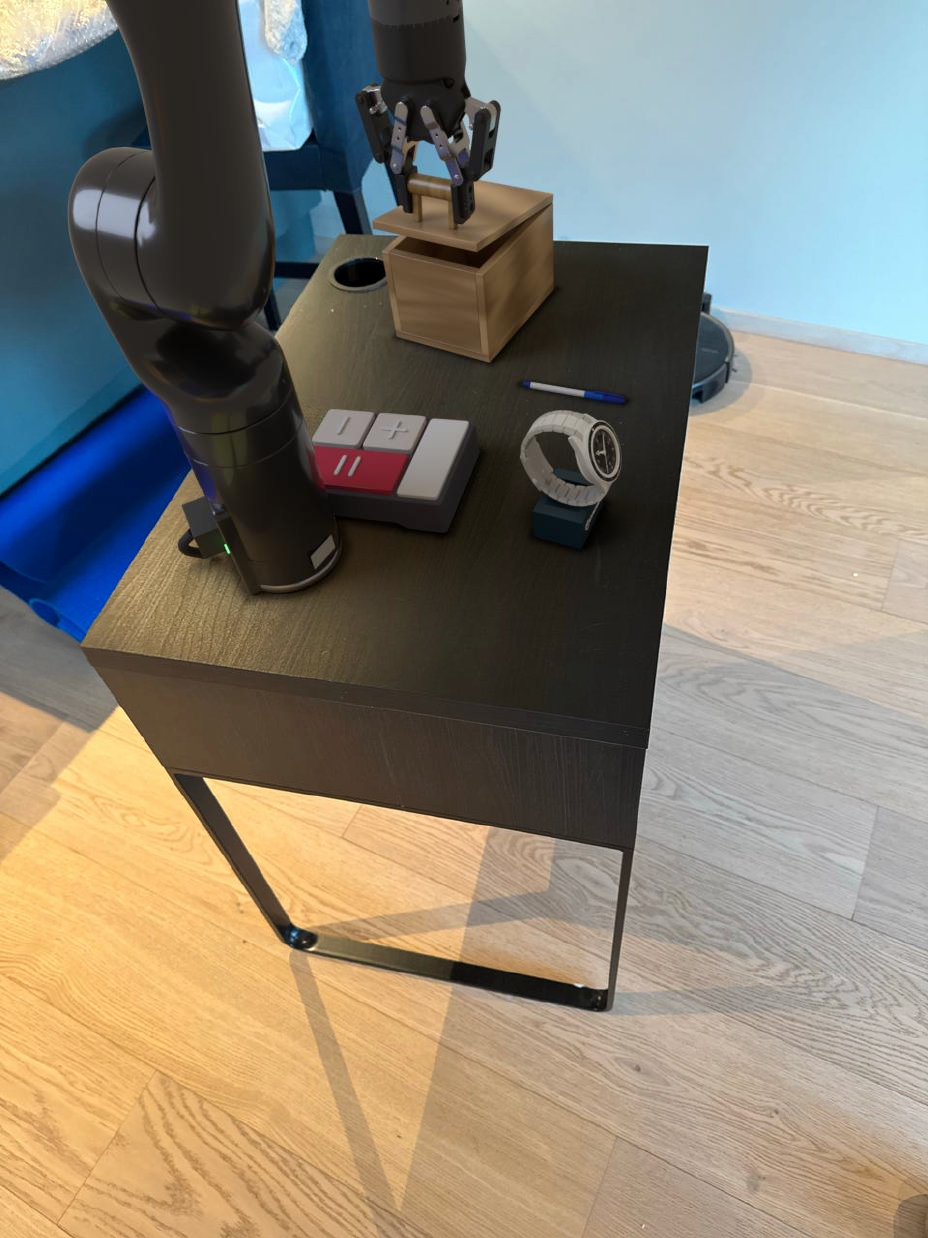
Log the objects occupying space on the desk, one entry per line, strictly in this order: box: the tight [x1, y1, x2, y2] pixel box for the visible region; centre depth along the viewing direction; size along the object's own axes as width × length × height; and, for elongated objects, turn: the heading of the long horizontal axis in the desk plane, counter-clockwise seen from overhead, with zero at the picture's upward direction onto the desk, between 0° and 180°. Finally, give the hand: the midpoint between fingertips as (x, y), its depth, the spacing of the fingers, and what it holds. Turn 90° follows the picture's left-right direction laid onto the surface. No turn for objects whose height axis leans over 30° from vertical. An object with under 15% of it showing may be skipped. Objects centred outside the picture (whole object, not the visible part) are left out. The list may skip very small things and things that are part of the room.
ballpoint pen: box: [522, 381, 626, 405], centre depth 83 cm, size 10×1×1 cm, turn 70°
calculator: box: [310, 408, 481, 534], centre depth 77 cm, size 11×4×15 cm
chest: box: [381, 201, 555, 364], centre depth 90 cm, size 15×12×10 cm
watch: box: [519, 409, 623, 550], centre depth 69 cm, size 6×8×11 cm
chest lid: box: [371, 172, 554, 252], centre depth 83 cm, size 16×12×5 cm
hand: (437, 214), depth 80 cm, fingers closed on chest lid, 5 cm apart
